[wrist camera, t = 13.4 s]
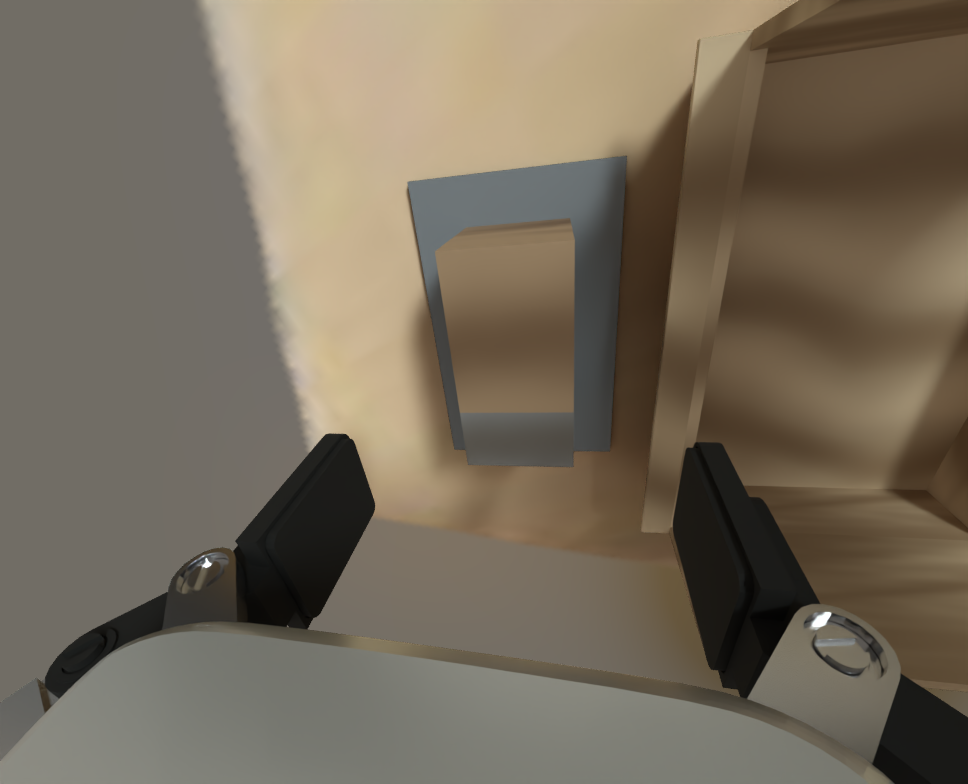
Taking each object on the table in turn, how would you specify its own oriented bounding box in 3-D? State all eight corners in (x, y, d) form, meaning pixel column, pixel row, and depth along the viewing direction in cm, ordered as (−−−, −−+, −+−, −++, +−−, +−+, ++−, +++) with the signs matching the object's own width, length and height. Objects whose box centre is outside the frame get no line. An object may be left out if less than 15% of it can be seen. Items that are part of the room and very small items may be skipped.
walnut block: (466, 227, 20) (434, 251, 15) (569, 217, 19) (574, 240, 14) (486, 401, 25) (467, 464, 20) (569, 400, 24) (573, 467, 19)
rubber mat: (410, 181, 20) (407, 182, 19) (625, 156, 18) (626, 155, 17) (455, 445, 27) (454, 449, 27) (609, 447, 26) (609, 451, 25)
